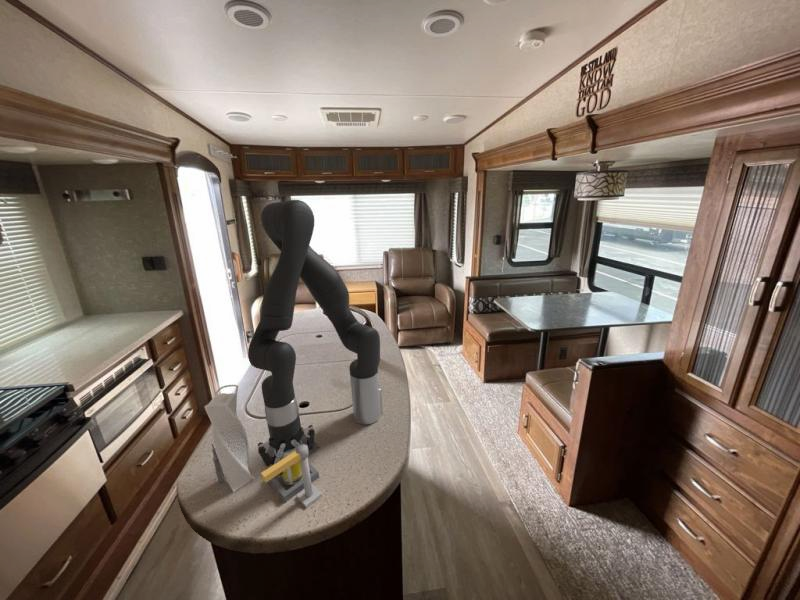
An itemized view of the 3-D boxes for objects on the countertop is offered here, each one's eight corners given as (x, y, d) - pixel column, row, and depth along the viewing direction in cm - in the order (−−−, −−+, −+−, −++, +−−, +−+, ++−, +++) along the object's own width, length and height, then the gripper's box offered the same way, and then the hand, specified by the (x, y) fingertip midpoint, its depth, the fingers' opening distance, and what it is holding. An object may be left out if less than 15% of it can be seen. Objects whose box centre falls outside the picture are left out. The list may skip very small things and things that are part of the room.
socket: (299, 458, 90) (294, 421, 86) (330, 488, 80) (326, 449, 76) (266, 480, 83) (259, 441, 79) (296, 516, 73) (288, 474, 69)
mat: (298, 429, 101) (298, 428, 101) (319, 447, 93) (319, 446, 93) (262, 450, 93) (262, 449, 93) (282, 472, 85) (282, 471, 85)
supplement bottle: (306, 467, 86) (302, 439, 83) (301, 485, 81) (296, 455, 77) (286, 469, 86) (281, 440, 82) (280, 486, 80) (274, 456, 77)
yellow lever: (304, 449, 76) (304, 442, 75) (310, 454, 74) (309, 448, 73) (261, 478, 68) (259, 471, 67) (266, 484, 66) (265, 477, 66)
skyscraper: (248, 462, 89) (229, 377, 80) (262, 478, 84) (243, 388, 75) (217, 482, 83) (192, 392, 74) (229, 500, 78) (204, 406, 69)
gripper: (308, 397, 83) (316, 448, 88) (250, 415, 77) (261, 469, 82) (315, 414, 77) (322, 467, 82) (251, 434, 70) (264, 491, 76)
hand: (292, 467), depth 82 cm, fingers closed on supplement bottle, 5 cm apart
